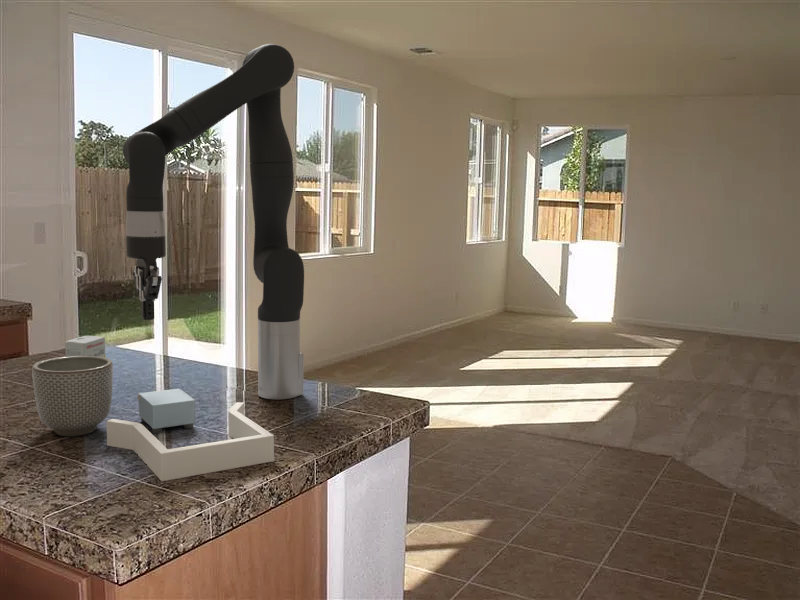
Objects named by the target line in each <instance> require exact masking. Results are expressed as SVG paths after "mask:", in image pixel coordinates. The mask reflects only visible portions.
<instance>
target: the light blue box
mask: <svg viewBox="0 0 800 600" xmlns="http://www.w3.org/2000/svg"><path fill="white" fill-rule="evenodd" d="M137 401H138V416H139V417H140V421H141V423H143V424H148V426H149V427H151V434H152V433H153V434H160V433H162V432H163V429H164V428H171V427H177V426H183V429H193V428H194V424H196V400H195V398H193V397H192V396H190V395H189V394H187V393H186V392H185V391H183V390H182V389H181V388H172V389H165V390H164V389H163V390H156V391H148V392H147V391H146V392H139V393H138V394H137Z"/></svg>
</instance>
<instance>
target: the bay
mask: <svg viewBox="0 0 800 600" xmlns="http://www.w3.org/2000/svg"><path fill="white" fill-rule="evenodd" d="M227 413H228V414H227V415H228V417H227V418H228V421H227V422H228V435H229V436H230V437H231V438H232V439H224V440H219V441H218V440H217V441H214V442H212V441H211V442H206V443H201V444H200V443H199V444H194V445H188V446H182V447H181V446H180V447H175V448H167V447H166V446H165V445H164V444H163V443H162V442H161V441H160V440H159V439H158V438H157V437H156V436H155V435H153V434H152V432H150V431H149V430H148V428H146V427H145V426H144V424H142V423H140V422H136V421H135V422H134V421H130V420H123V419H117V418H110V419H108V420H106V443H107V444H106V445H107V446H109V447H112V448H113V447H114V448H120V449H126V450H132V451H134V452H135V454H136V455H137V454H138V457H139V458H140V459H141V460H142V461H143V462H144V463H145V465H146V464H147V465H146V466H147V467H148V468H149V469H150V471H152V473H154V475H155V476H156V477H158V479H159V480H160V481H161V482H165V481H171V480H176V479H181V478H187V477H192V476H193V477H194V476H198V475H204V474H205V475H206V474H209V473H210V474H211V473H215V472H219V471H227V470H233V469H238V468H243V467H248V466H254V465H255V466H256V465H259V464H261V465H262V464H265V463H270V462H271V463H272V462H275V436H274V434H273V433H271V432H270V431H268V430H266V429H265V428H263V427H262V426H260V425H259V424H257V423H256V422H255V421H253V420H251V419H250V418H248V417H247V416H246V415H245V402H241V401H240V402H238V401H237V402H235V403H234V404H233V405H232V406H231V407H230V408H229V409H228V412H227Z"/></svg>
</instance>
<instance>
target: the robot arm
mask: <svg viewBox="0 0 800 600" xmlns="http://www.w3.org/2000/svg"><path fill="white" fill-rule="evenodd" d="M294 72H295V62H294V58H293V55H292V54H291V53H290V51H288V50H287V48H285V47H284V46H282V45H279V44H277V43H276V44H274V43H266V44H262V45H260V46H258V47H256V48H253V49H252V50H250V51H248V52H247V54H246V55H245V57H244V59H243V61H242V66H241V67H239V68H238V69H237V70H236V71H234V72H233V73H232V74H230V75H229V76H227V77H226V78H224V79H222V80H221V81H219V82H217V83H216V84H214V85H211V86H209V87H208V88H206V89H204V90H202V91H200V92H198V93H197V94H195V95H194V96H192V97H190V98H189V99H187V100H185V101H183V102H181V103H180V104H179V105H177V106H176V107H174V108H173V109H171V110H170V111H168V112H167V113H165V115H162V117H161V118H159V119H158V120H156V121H154V122H152V123H150V124H149V125H147V126H145V127H143V128H141V129H140V130H138V131H136V132H135V133H133V134H132V135H130V136H129V137H128V138H127V139H126V140H125V141H124V143H123V147H122V154H123V157H124V159H125V161H126V162H127V163H128V167H129V168H128V176H129V181H128V184H127V186H126V193H125V194H126V195H125V196H126V198H125V199H126V217H125V240H126V242H125V243H126V244H125V245H126V246H125V248H126V256H127V258H129V259H135V260H136V264H135V265H136V266H134V270H133V271H132V276H133V277H132V278H133V281H134V287H135V290H136V295H137V297H138V299H139V301H140V309H141V311H140V313H141V319H143V320H144V321H150V320H154V319H155V301H156V300H157V299H158V298H159V293H160V290H161V286H162V285H161V284H162V280H163V279H162V275H160V268H159V266H158V264H157V259H163V258H165V257H166V255H167V250H166V247H167V246H166V220H165V214H164V192H163V190H164V189H163V187H164V186H163V184H164V179H165V170H166V156H167V155H169V154H170V153H172V152H173V151H174V150H176V149H177V148H180V147H182V146H185V145H188V144H189V143H191V142H192V141H193V140H195V139H197V138H198V137H199V136H201V135H203V134H204V133H205V132H207V131H208V130H210V129H211V128H213V127H214V126H215V125H217V124H218V123H219V122H221V121H222V120H224V119H225V118H226V117H228V116H230V114H232V113H234V112H235V111H237V110H238V109H239V108H241V107H243V106H244V105H246V106H247V114H248V146H249V174H250V175H249V176H250V184H251V185H250V186H251V196H252V209H253V219H254V240H253V258H252V259H253V262H252V266H253V271H254V273H255V276H256V278H257V279H258V280H259V282H260V283H262V285H263V286H262V299H261V300H262V301H261V304H259V306H258V308H257V377H258V378H257V390H258V391H257V395H258V396H259V397H261V398H263V399H267V400H287V399H293V398H296V397H298V396H303V395H304V362H305V361H304V352H301V311H302V308H303V304H304V292H305V265H304V261H303V259H302V257H301V255H300V254H299V253H298V252H297V251H296V250H294V249H293V248H290V247H289V241H288V227H287V226H288V225H287V223H288V214H289V210H290V205H291V201H292V197H293V193H294V185H295V184H294V183H295V181H294V180H295V178H294V177H295V176H294V173H295V172H294V163H293V162H294V159H293V158H294V157H293V150H292V149H291V143H290V141H289V137H288V134H287V131H286V128H285V126H284V122H283V118H282V117H283V116H282V108H281V106H282V105H281V101H282V100H281V99H282V98H281V93H282V88H283V87H285V86H286V85H287V84H288V83H289V82H290V81H291V79H292V78H293V76H294Z"/></svg>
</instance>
